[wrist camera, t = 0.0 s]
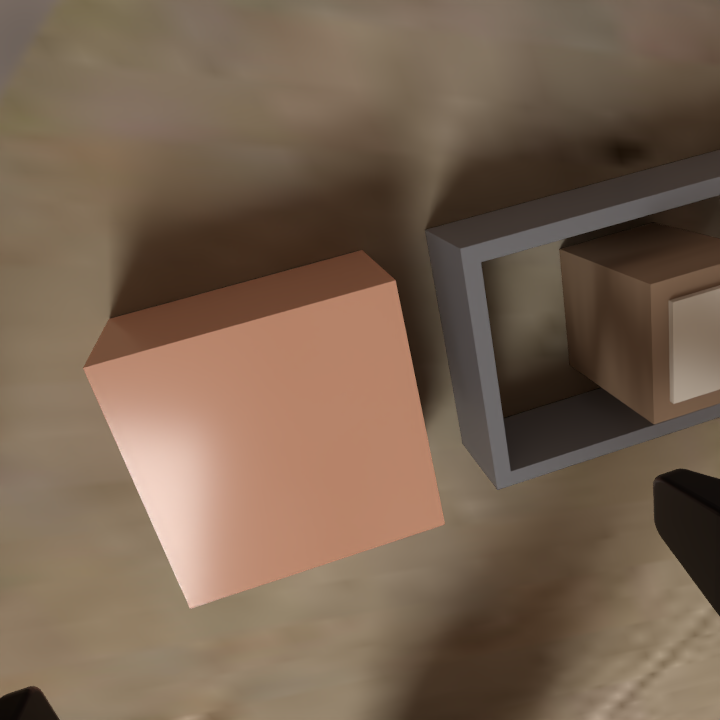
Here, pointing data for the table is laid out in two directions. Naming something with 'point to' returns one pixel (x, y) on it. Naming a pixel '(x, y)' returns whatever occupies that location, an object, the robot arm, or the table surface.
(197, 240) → the table surface
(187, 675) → the table surface
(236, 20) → the table surface
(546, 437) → the charcoal bin
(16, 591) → the table surface
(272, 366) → the terracotta stand
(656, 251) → the walnut box
